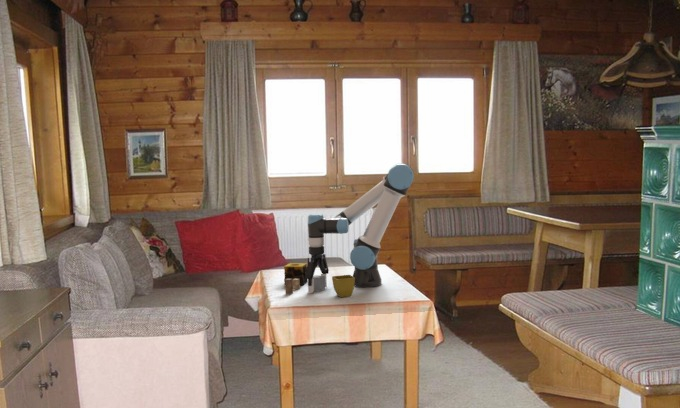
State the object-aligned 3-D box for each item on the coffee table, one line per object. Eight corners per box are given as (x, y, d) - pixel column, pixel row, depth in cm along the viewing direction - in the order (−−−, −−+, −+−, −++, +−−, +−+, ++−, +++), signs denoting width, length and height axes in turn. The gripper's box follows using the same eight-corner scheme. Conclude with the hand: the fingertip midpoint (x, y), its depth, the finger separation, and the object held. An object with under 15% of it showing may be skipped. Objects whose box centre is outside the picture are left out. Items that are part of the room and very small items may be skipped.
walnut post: (293, 293, 304) (292, 278, 303) (290, 294, 302) (289, 279, 301) (288, 292, 305) (287, 278, 305) (285, 294, 303) (285, 279, 302)
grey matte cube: (325, 289, 311) (324, 275, 311) (320, 291, 307) (319, 277, 306) (315, 288, 313) (315, 275, 313) (310, 290, 309) (310, 277, 308)
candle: (303, 286, 321) (302, 266, 320) (284, 285, 323) (283, 266, 322) (308, 282, 331) (307, 263, 330) (289, 281, 333) (288, 262, 332)
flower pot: (337, 298, 289) (336, 279, 289) (332, 295, 298) (331, 276, 297) (355, 297, 292) (355, 277, 291) (350, 293, 300) (349, 274, 300)
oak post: (299, 288, 314) (299, 278, 313) (297, 289, 311) (296, 279, 311) (295, 288, 315) (295, 278, 314) (292, 289, 313) (292, 279, 312)
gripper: (321, 242, 321) (322, 284, 323) (296, 249, 299) (298, 294, 301) (334, 242, 318) (335, 285, 319) (310, 249, 296) (312, 295, 297)
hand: (317, 289), depth 310 cm, fingers open, 12 cm apart
